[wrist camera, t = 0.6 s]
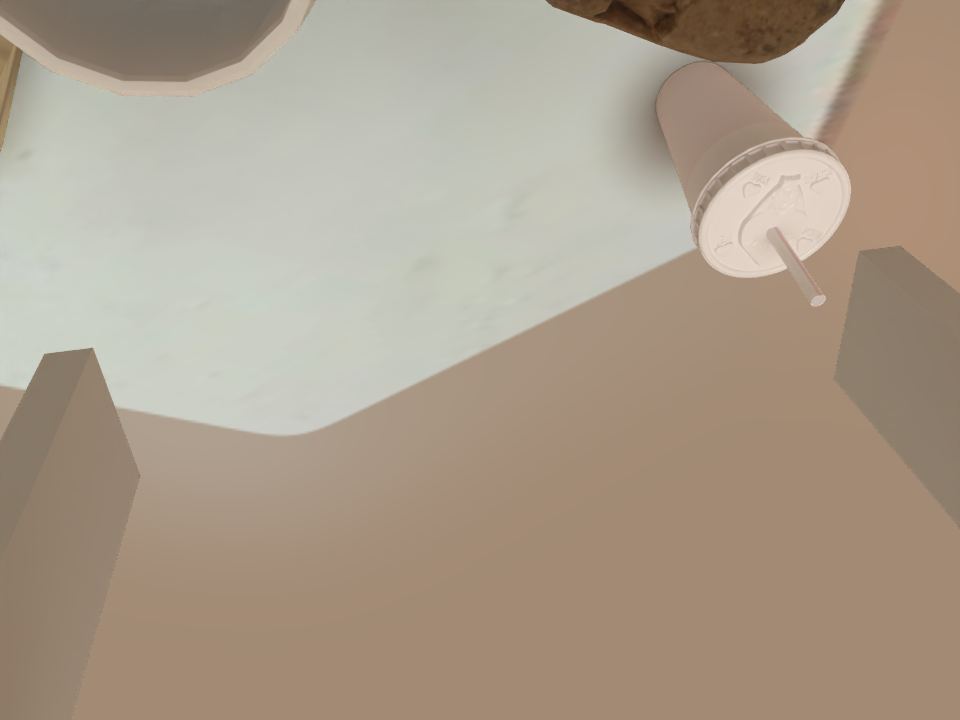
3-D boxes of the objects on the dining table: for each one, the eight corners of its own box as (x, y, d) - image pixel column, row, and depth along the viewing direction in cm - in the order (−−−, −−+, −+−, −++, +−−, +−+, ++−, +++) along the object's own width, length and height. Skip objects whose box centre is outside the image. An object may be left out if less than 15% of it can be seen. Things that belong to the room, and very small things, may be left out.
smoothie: (617, 159, 43) (719, 357, 34) (641, 34, 39) (767, 223, 29) (738, 153, 44) (869, 344, 35) (775, 31, 40) (939, 212, 30)
